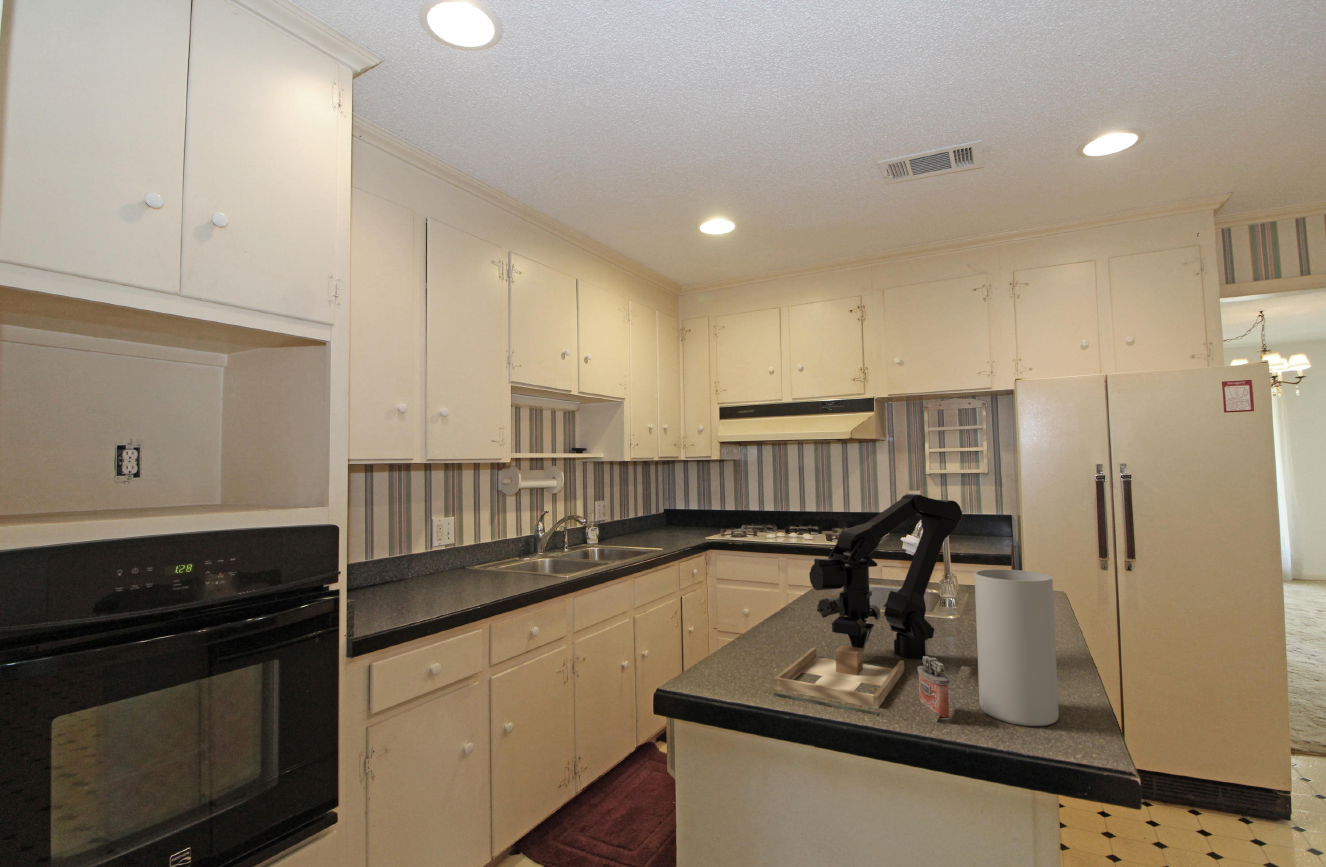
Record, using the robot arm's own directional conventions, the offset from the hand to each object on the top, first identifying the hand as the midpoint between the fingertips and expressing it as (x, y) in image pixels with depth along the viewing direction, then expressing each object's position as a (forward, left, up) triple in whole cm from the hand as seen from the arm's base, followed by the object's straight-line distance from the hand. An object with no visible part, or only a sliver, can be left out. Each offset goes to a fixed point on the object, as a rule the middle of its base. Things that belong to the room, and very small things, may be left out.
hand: (858, 657), depth 139 cm
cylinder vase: (-31, +11, -3) cm, 34 cm away
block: (0, +7, -1) cm, 7 cm away
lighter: (-18, +19, -3) cm, 27 cm away
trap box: (0, +13, -2) cm, 13 cm away
